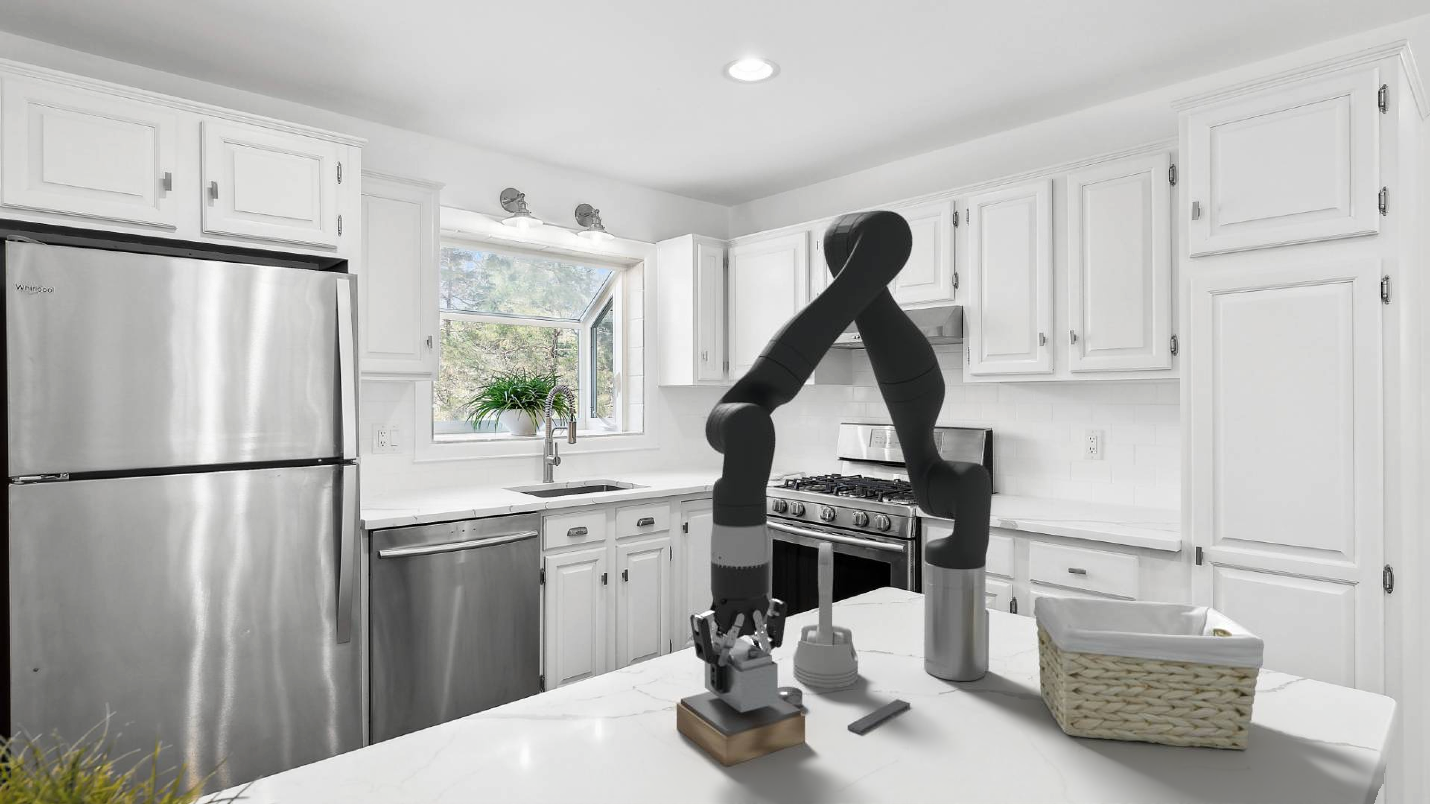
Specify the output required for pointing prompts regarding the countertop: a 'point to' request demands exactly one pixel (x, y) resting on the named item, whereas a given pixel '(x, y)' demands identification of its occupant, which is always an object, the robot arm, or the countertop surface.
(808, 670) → the engine component
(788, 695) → the dark grey domed cap
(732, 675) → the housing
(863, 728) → the bar
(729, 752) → the stand
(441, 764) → the countertop surface
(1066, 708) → the storage basket
